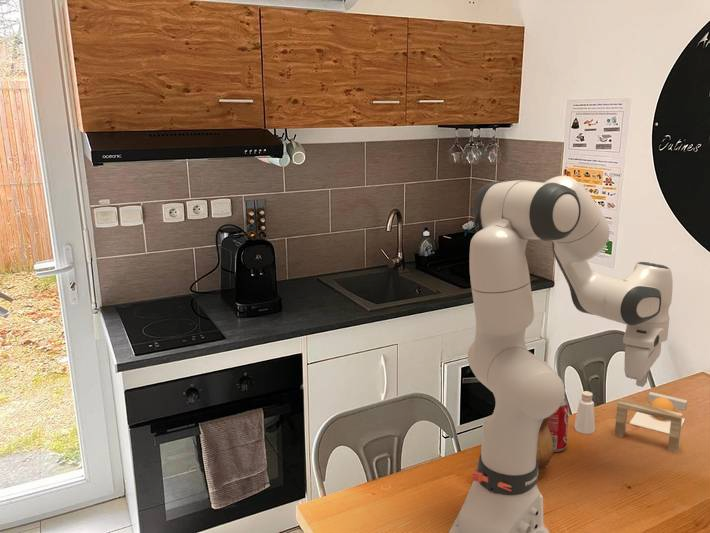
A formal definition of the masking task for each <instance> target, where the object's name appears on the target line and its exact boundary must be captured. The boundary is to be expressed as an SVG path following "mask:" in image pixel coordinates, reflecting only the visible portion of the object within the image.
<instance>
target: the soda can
mask: <svg viewBox="0 0 710 533" xmlns="http://www.w3.org/2000/svg"><path fill="white" fill-rule="evenodd" d="M569 410H570V408H569V404H568V400H567V399H565V398H564V399H563V402H562V404H561V406H560V407H559V409H558V410H557V411H556V412H555V413H554V414H552V415H551V416H550V417H549V420H548V428H549V431H550V433H551V437H552V440H553V453H554V452H555V453H557V452H562V451H563V450H565V449H566V447H567V446H568V430H569V429H568V428H569V412H570V411H569Z"/></svg>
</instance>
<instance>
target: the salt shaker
mask: <svg viewBox="0 0 710 533" xmlns="http://www.w3.org/2000/svg"><path fill="white" fill-rule="evenodd" d="M593 396H594V395H593V393H592V392H591V391H587V390H585V391H582V392H581V399H580V400H579V401H578V406H577V410H576V415H575V420H574V421H575V422H574V426H573V428H574V429H575V431H576V432H577V433H581V434H583V435H592V434H593V433H594V432H596V428H595V427H596V425H595V421H596V420H595V402H594V401H593Z"/></svg>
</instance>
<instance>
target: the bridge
mask: <svg viewBox="0 0 710 533" xmlns="http://www.w3.org/2000/svg"><path fill="white" fill-rule="evenodd" d="M628 410H629V411H633V412H635V413H636V412H640V413H644V414H648V415H652V416H656V417H660V418H664V419H668V420H671V425H670V434H668V444H667V451H668V452H671V453H675V454H677V453H678V450H679V446H680V438H681V429H682V427H681V423H682V418H683V413H681V412H676V411H674V412H673V411H669V410H665V409H661V408H657V407H653V406H651V405H648V404H645V403H640V402H636V401H632V400H627V399H625V398H624V399H623V398H619V400H618V401H617V404H616V413H615V426H614V437H619V438H622V439H623V438H624V436H625V434H626V429H627V417H628Z"/></svg>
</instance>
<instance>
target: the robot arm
mask: <svg viewBox="0 0 710 533" xmlns="http://www.w3.org/2000/svg"><path fill="white" fill-rule="evenodd" d="M472 214H473V215H472V217H473V225H474V228H475V231H476V233H475V234H474V235H473V236H472V238H471V239H470V244H469V260H468V262H469V276H470V280H469V281H470V288H471V294H472V301H473V307H474V316H475V336H474V341H473V342H472V343H471V345H470V347H469V349H468V352H467V362H468V366H469V367H470V370H471V371H472V374H474V376H475V378H476V379H477V380H478V381H479V382H480V383H481V384H482V385H483V386H485V387H486V388H487V389H488V390H489V391H490V392H492V394H493V397H494V402H495V407H494V410H493V412H492V414H491V415H488V416H487V417H486V418H485V420H484V421H483V423H482V428H481V453H480V455H479V457H478V461H477V463H476V464H477V466H476V470H473V471H472V473H471V476H470V478H471V480H472V484H471V486H470V488H469V491H468V493H467V496H466V498H465V500H464V502H463V504H462V505H461V508H460V510H459V512H458V514H457V516H456V518H455V520H454V522H453V524H452V526H451V527H450V530H448V533H550V531H549V529H548V528H547V527H546V526H545V525H544V497H543V494H542V493H541V492H540V489H539V488H538V485H537V483H538V479H539V478H538V476H539V472H538V463H537V461H536V455H537V443H538V434H539V430H540V426H541V424H542V422H543V420H544V419H545V418H547V417H549V416H551V415H552V414H554V413H555V412H556V411H557V410H558V409H559V407H560V406H561V404H562V402H563V399H565V394H566V393H565V391H566V390H565V385H564V382H563V379H562V378H561V377H560V375H558V374H557V372H556V371H555V370H554V369H553V368H552V367H551V366H550V365H549V363H548V362H546V361H544V360H543V359H541V358H540V357H538V356H537V355H534V354H533V353H532V352H531V351H530V350H529V349H528V348H527V345H526V342H525V341H526V340H525V337H526V336H525V335H526V329H527V328H529V326H530V325H532V324H533V322H534V318H535V310H534V302H533V293H532V286H531V277H530V271H529V265H528V260H527V257H526V256H527V255H526V248H527V244H528V242H529V240H542V241H546V242H550V241H551V242H552V243H551V249H552V254H553V257H554V258H555V261H556V262H557V265H558V267H559V269H560V270H561V272H562V274H563V277H564V279H565V281H566V283H567V285H568V288H569V292H570V296H571V300H572V303H573V305H574V307H575V308H576V310H577V311H578V312H581V313H584V314H589V315H593V316H596V317H600V318H604V319H606V320H610V321H613V322H616V323H620V324H623V325H626V327H625V332H624V335H623V338H622V343H623V344H624V345H625V347H624V367H623V368H624V375H625V377H626V378H629V379H631V380H632V379H633V380H636V381H635V385H636V386H637V387H641V388H644V387H645V386H646V385H647V383H648V376H649V373H650V370H651V368H652V367H653V365H654V363H656V362H657V360H658V359H659V357H660V355H661V351H662V343H664V342H667V340H668V338H669V337H668V336H669V327H670V314H669V311H670V306H671V304H672V299H673V288H674V287H673V273H672V270H671V268H670V267H668V266H666V265H664V264H658V263H653V262H652V263H651V262H648V261H639V262H636V263H635V265H634V267H633V271H632V273H630V275H629V276H627V277H625V278H623V279H620V278H617V277H612V276H609V275H604V274H602V273H599V272H597V271H595V270H594V269H592V268H591V266H590V264H589V262H588V261H589V260H590V259H594V257H596V256H597V255H599V254H600V253H601V252H602V251H603V249H605V247H606V245H607V243H608V241H609V238H610V233H611V232H610V226H609V224H608V221H607V219H606V218H605V217H606V216H605V215H604V214H603V212H602V210H601V209H600V207H599V206H598V204H597V203H596V201H595V200H594V198H593V196H591V194H590V193H589V192H588V191H587V190H586V188H584V186H583V185H582V184H581V183H580V182H578V181H577V179H575V178H573V177H571V176H568V175H567V176H566V175H557V176H554V177H552V178H549V179H548V180H547V179H546V181H544V182H540V181H530V180H528V179H527V180H526V179H523V180H522V179H517V180H508V181H504V180H497V181H493V182H488V183H487V184H485V185H483V186H482V187H480V189H479V190H477V193H476V195H475V197H474V200H473V207H472Z"/></svg>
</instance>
